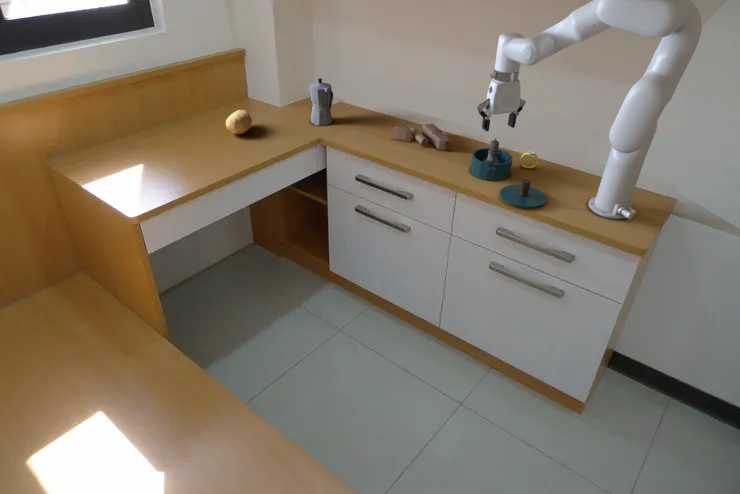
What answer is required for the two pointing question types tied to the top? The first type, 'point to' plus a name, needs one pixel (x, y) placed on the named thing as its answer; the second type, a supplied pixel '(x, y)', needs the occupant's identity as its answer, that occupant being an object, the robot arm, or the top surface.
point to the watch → (531, 155)
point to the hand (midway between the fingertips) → (498, 128)
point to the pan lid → (523, 195)
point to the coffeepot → (321, 103)
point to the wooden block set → (423, 136)
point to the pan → (491, 165)
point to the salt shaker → (493, 153)
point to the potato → (239, 122)
